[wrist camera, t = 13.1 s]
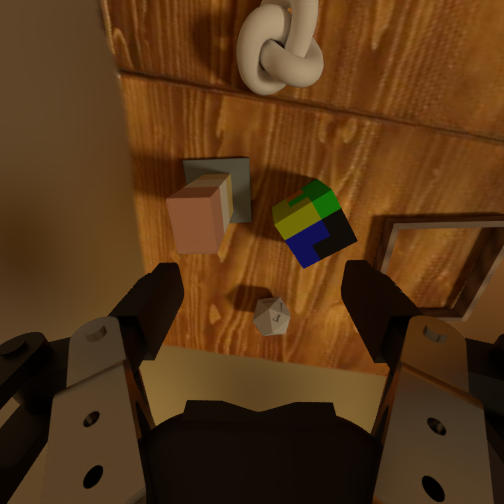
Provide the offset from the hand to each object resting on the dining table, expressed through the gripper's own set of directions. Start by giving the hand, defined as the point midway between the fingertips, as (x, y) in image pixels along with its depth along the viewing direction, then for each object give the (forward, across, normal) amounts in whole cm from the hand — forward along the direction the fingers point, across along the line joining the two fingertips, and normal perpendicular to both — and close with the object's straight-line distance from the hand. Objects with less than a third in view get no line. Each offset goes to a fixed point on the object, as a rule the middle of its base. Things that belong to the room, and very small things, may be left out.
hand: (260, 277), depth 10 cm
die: (+34, -2, +31) cm, 46 cm away
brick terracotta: (+21, +8, +3) cm, 23 cm away
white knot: (+34, -4, -16) cm, 38 cm away
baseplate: (+34, +8, +3) cm, 35 cm away
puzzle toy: (+34, -9, +8) cm, 36 cm away
